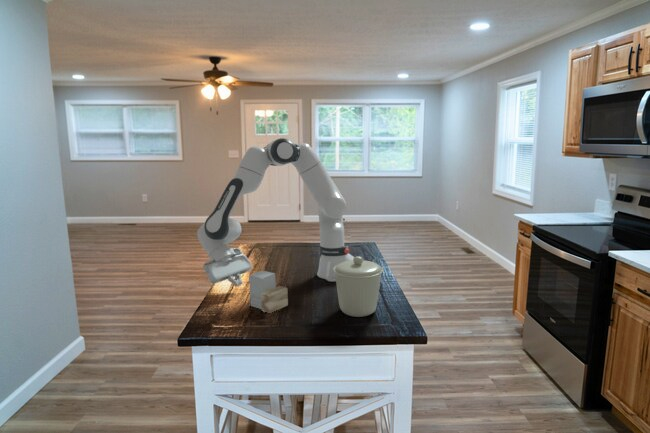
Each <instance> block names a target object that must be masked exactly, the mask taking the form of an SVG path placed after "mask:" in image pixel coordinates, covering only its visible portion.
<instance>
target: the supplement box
mask: <svg viewBox="0 0 650 433" xmlns="http://www.w3.org/2000/svg"><path fill="white" fill-rule="evenodd" d="M248 277H249V278H248V279H249V280H248V281H249V294H250V295H249V296H250V306H251V307H253V308H256V309H259V310H262V301H261V293H264V292H266V291H269V290H271V289H273V288H276V287H277V284H276V273H275V272H271V271H268V270H263V269H262V270H260V271H257V272H253V273H252V274H251V273H250V274H249V275H248Z"/></svg>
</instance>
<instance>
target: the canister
mask: <svg viewBox="0 0 650 433" xmlns="http://www.w3.org/2000/svg"><path fill="white" fill-rule="evenodd" d="M353 257H354V259H353V260H350V261H345V262H342V263H340V264H338V265H336V266H335V267H334V268H333V271H334V273H335V276H336V281H335V284H336V292H337V298H338V305H339V308H340V310H341V311H342V313H344V314H345V315H347V316H350V317H356V318H360V317H361V318H362V317H367V316H370V315H371V314H373V313H375V311H376V309H377V305H378V299H379V294H380V293H379V292H380V285H381V279H382V278H381V277H382V276H381V275H382V274H383V272H384V268H383V267H382V266H381V265H379V264H378V263H376V262H375V261H374V262H373V261H371V260H370V261H369V260H364V259H363V257H362V256H357V255H356V256H353Z"/></svg>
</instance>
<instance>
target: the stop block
mask: <svg viewBox="0 0 650 433" xmlns="http://www.w3.org/2000/svg"><path fill="white" fill-rule="evenodd" d="M288 294H289V293H288V287H286V286H281V285H278V286H276V288H273V289H271V290H269V291H266V292H264V293H261V301H262V309H261V312H262V311H263V313H265V312H267V313H266V314H268V313H271V314H272V312H273V313H274V311H275V312H277V311H279V310H281V309H283V308H285V307H287V306H288V305H289V297H288V296H289V295H288ZM276 310H277V311H276Z"/></svg>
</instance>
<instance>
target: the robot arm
mask: <svg viewBox="0 0 650 433" xmlns="http://www.w3.org/2000/svg"><path fill="white" fill-rule="evenodd" d="M287 164H292V165H293V166H294V168H296V170H297V172H298V173H299V176H300V177H301V179H302V181H303V182H304V185H306V188H307V189H308V190H309V193H310V194H311V195H312V196H313V198H314V200H315V201H316V203H317V209H318V222H319V242H320V243H319V245H318V246H319V247H318V256H319V263H318V270H317V273H316V276H317V277H318V278H320V279H323V280H326V281H328V282H336V276H335V273H334V271H333V268H334V267H335V266H336V265H338V264H340V263H342V262H345V261H350V260H353V259H354V257H355V256H353V255H352V254H350V248H349V245H345V227H344V226H345V225H344V219H343V216H344V215H345V213H346V211H347V202H346V199H345V198H344V196H343V195H342V194H341V191H340V190H339V188H338V186H337V185H336V183H335V182H334V181H333V179H332V178H331V176H330V173H329V172H328V171H327V170H326V167H325V166H324V164H323V162H322V161H321V159H320V157H319V155H318V154H317V153H316V152H315V150H314V149H313V148H312V147H311V145H310V144H308V143H306V142H302V143H301V142H300V143H298V144H297V143H295V142H293V141H291V140H290V139H287V138H285V137H284V138H283V137H281V138H277V139H275V140H272V141H271V142H270V143H268V144H267V145H266V146H265V147H261V146H259V145H258V146H257V145H256V146H255V145H254V146H250V147H249V148H248V149H247V150H246V151H245V154H244V155H243V157H242V158H241V161H240V163H239V165H238V168H237V170H236V172H235V174H234V176H233V178H232V179H231V180H230V182H228V184H227V186H226V187H225V189H224V190H223V192H222V194H221V196H220V198H219V200H218V202H217V204H216V206H215V208H214V210H213V211H212V213H210V215H209V216H207V217H206V220H205V221H204V223H203V224H202V225H200V226H199V228H198V229H197V231H196V234H197V235H196V236H197V239H198V241H199V243H200V246H201V247H202V249H203V250H204V251H205V252H206V253H207V256H208V258H209V260H210V261H207V262H204V264H203V266H202V268H203V270H204V272H205V273H206V276H207V279H208V280H209V282H210V283H211V284H213V285H214V284H217V283H220V282H222V281H225V280H228V282H229V283H231V284H233V285H234V287H235V288H236V287H239V286H241V285H242V284H243V281H242V278H241V276H242V275H243V274H246V273H248V272H250V271H251V270H252V268H253V264H252V263H251V261H250V260H249V258H248V257H247V256H246V255H245V254H244V253H243V250H242V249H241V248H233V247H229V244H232V243H233V242H235V241H236V240H237V239H239V238H240V237H241V235H242V231H243V230H242V229H243V228H242V225H241V223H240V222H239V221H238V220H236V219H234V218H231V217H230V216H231V213H232V211H233V209H234V208H235V205H236V204H237V202H238V200H239V199H240V198H241V197H242V196H244V195H247V194H252V193H253V192H256V191H257V190H258V189H259V187H260V186H261V184H262V182H263V179H264V176H265V175H266V174H265V173H266V171H267V169H268V168H269V166H272V167H274V166H276V167H278V166H280V167H281V166H285V165H287ZM234 278H235V279H234Z"/></svg>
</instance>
